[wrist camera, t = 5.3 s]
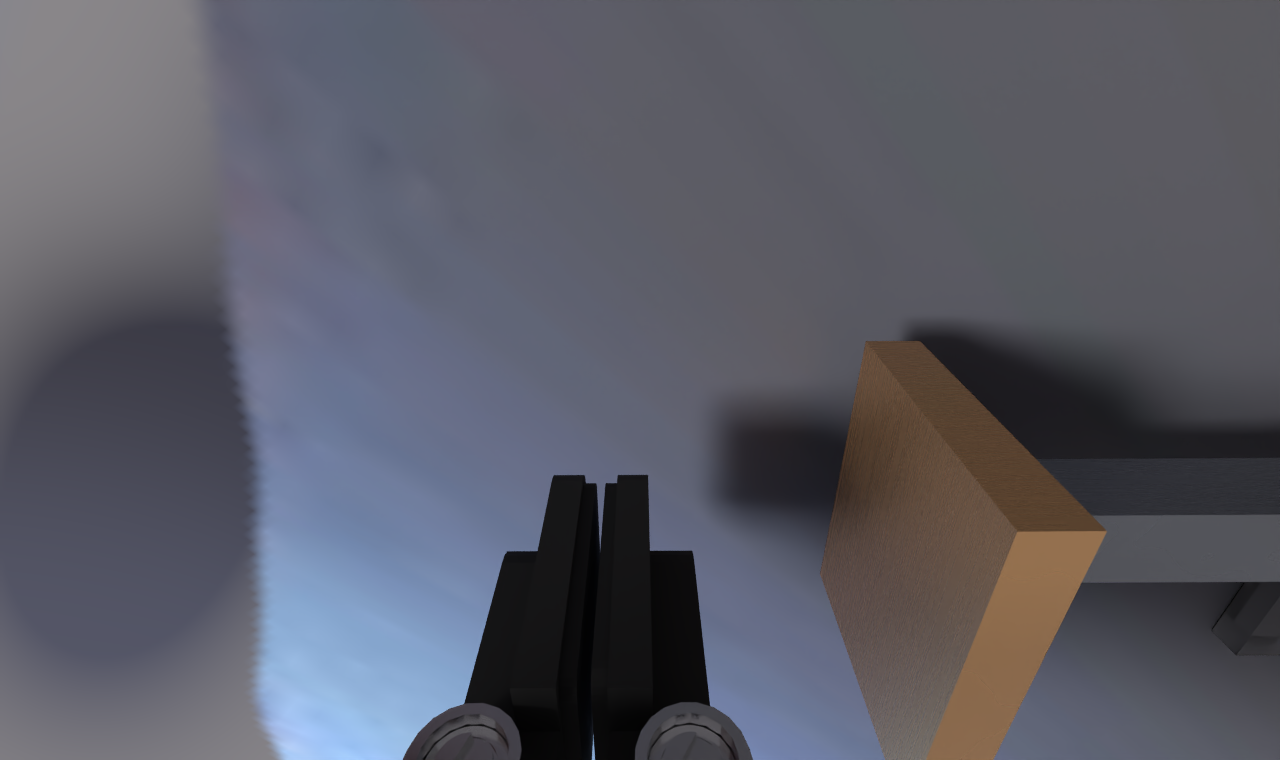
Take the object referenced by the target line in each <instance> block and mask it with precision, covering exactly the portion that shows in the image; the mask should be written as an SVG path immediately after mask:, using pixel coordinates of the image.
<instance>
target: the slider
mask: <svg viewBox="0 0 1280 760" xmlns="http://www.w3.org/2000/svg"><path fill="white" fill-rule="evenodd" d="M820 575H821V578H822V580H823V583H824V586H825V589H826V592H827V595H828V598H829V600H830V603H831V606H832V609H833V612H834V615H835V617H836V620H837V623H838V626H839V629H840V632H841V635H842V637H843V640H844V643H845V646H846V649H847V652H848V655H849V657H850V660H851V663H852V666H853V669H854V672H855V675H856V677H857V680H858V683H859V686H860V689H861V692H862V694H863V697H864V700H865V703H866V706H867V709H868V712H869V714H870V717H871V720H872V723H873V726H874V729H875V732H876V734H877V737H878V740H879V743H880V746H881V749H882V752H883V754H884V757H885V760H993V759H994V757H995V755H996V753H997V751H998V749H999V747H1000V745H1001V743H1002V741H1003V739H1004V737H1005V735H1006V733H1007V731H1008V729H1009V727H1010V725H1011V723H1012V721H1013V719H1014V717H1015V715H1016V713H1017V711H1018V709H1019V707H1020V705H1021V703H1022V701H1023V699H1024V697H1025V695H1026V693H1027V691H1028V689H1029V687H1030V685H1031V683H1032V681H1033V679H1034V677H1035V675H1036V673H1037V671H1038V669H1039V667H1040V665H1041V663H1042V661H1043V659H1044V657H1045V655H1046V653H1047V651H1048V649H1049V647H1050V645H1051V643H1052V641H1053V639H1054V637H1055V635H1056V633H1057V631H1058V629H1059V627H1060V625H1061V623H1062V621H1063V619H1064V617H1065V615H1066V613H1067V611H1068V609H1069V607H1070V605H1071V603H1072V601H1073V599H1074V597H1075V595H1076V593H1077V591H1078V589H1079V587H1080V585H1081V583H1129V582H1280V458H1152V459H1036V458H1035V457H1034V456H1033V455H1032V454H1031V453H1030V452H1029V451H1028V450H1027V449H1026V448H1025V447H1024V446H1023V445H1022V444H1021V443H1020V442H1019V441H1018V440H1017V439H1016V438H1015V437H1014V436H1013V435H1012V434H1011V433H1010V432H1009V431H1008V430H1007V429H1006V428H1005V427H1004V426H1003V425H1002V424H1001V423H1000V422H999V421H998V420H997V419H996V418H995V417H994V416H993V415H992V414H991V413H990V412H989V411H988V410H987V409H986V408H985V407H984V406H983V405H982V404H981V403H980V402H979V401H978V400H977V399H976V398H975V397H974V396H973V395H972V393H971V392H970V391H969V390H968V389H967V388H966V387H965V386H964V385H963V384H962V383H961V382H960V381H959V380H958V379H957V378H956V377H955V376H954V375H953V374H952V373H951V372H950V371H949V370H948V369H947V368H946V367H945V366H944V365H943V364H942V363H941V362H940V361H939V360H938V359H937V358H936V357H935V356H934V355H933V354H932V353H931V352H930V351H929V350H928V349H927V348H926V347H925V346H924V345H923V344H922V343H921V342H920V341H866V344H865V349H864V354H863V359H862V364H861V369H860V374H859V379H858V384H857V389H856V394H855V399H854V404H853V409H852V415H851V420H850V425H849V430H848V435H847V440H846V445H845V450H844V455H843V460H842V465H841V470H840V475H839V480H838V486H837V491H836V496H835V501H834V506H833V511H832V516H831V521H830V526H829V531H828V536H827V541H826V546H825V551H824V557H823V562H822V567H821V572H820Z"/></svg>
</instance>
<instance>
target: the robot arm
mask: <svg viewBox="0 0 1280 760" xmlns="http://www.w3.org/2000/svg"><path fill="white" fill-rule="evenodd" d="M593 733H594V748H595V760H753V759H752V755H751V752H750V749H749V747H748V745H747V742H746V740H745V738H744V736H743V734H742V732H741V730H740V729H739V728H738V727H737V726H736V725H735V724H734V722H733V721H732V720H731V719H730V718H729V717H728V716H726V715H725V714H723V713H722V712H720V711H719V710H717V709H716V708H714V707H711V706H710V701H709V692H708V683H707V674H706V665H705V656H704V647H703V638H702V629H701V620H700V611H699V601H698V592H697V583H696V574H695V565H694V557H693V552H692V551H650V542H649V498H648V475H618V479H617V483H606V485H605V497H604V510H603V523H602V536H601V549H600V541H599V520H598V500H597V485H596V483H586V481H585V476H584V475H554V476H553V479H552V483H551V488H550V493H549V498H548V503H547V508H546V513H545V517H544V522H543V527H542V532H541V537H540V542H539V547H538V551H507V553H506V554H505V556H504V559H503V562H502V565H501V569H500V573H499V577H498V580H497V584H496V588H495V592H494V595H493V599H492V603H491V606H490V610H489V614H488V618H487V621H486V625H485V629H484V632H483V636H482V640H481V644H480V647H479V651H478V655H477V659H476V662H475V666H474V670H473V673H472V677H471V681H470V685H469V688H468V692H467V696H466V700H465V703H464V704H463V705H460V706H457V707H453V708H450V709H448V710H447V711H445V712H443V713H441V714H440V715H438V716H436V717H435V718H433V719H432V720H431V721H430V722H429V723H428V724H427V725H426V726H425V727H424V728H423V729H422V730H421V731H420V732H419V733H418V734H417V736H416V737H415V739H414V740H413V742H412V743H411V745H410V746H409V748H408V750H407V752H406V754H405V756H404V758H403V760H592V746H593Z"/></svg>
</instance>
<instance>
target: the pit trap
mask: <svg viewBox="0 0 1280 760" xmlns="http://www.w3.org/2000/svg"><path fill="white" fill-rule="evenodd" d="M1212 632H1213V633H1214V634H1215V635H1216V636H1217V637H1218V638H1219V639H1220V640H1221V641H1222V642H1223V643H1224V644H1225V645H1226V646H1227V647H1228V648H1229V649H1230V650H1231V651H1232V652H1233V653H1234V654H1235V655H1280V582H1245V583H1244V585H1243V586H1242V587H1241V589H1240V590H1239V592H1238V593H1237V595H1236V596H1235V598H1234V599H1233V601H1232V602H1231V604H1230V605H1229V606H1228V608H1227V609H1226V611H1225V612H1224V614H1223V615H1222V617H1221V618H1220V620H1219V621H1218V622H1217V624H1216V625H1215V627H1214V628H1213V630H1212Z"/></svg>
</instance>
